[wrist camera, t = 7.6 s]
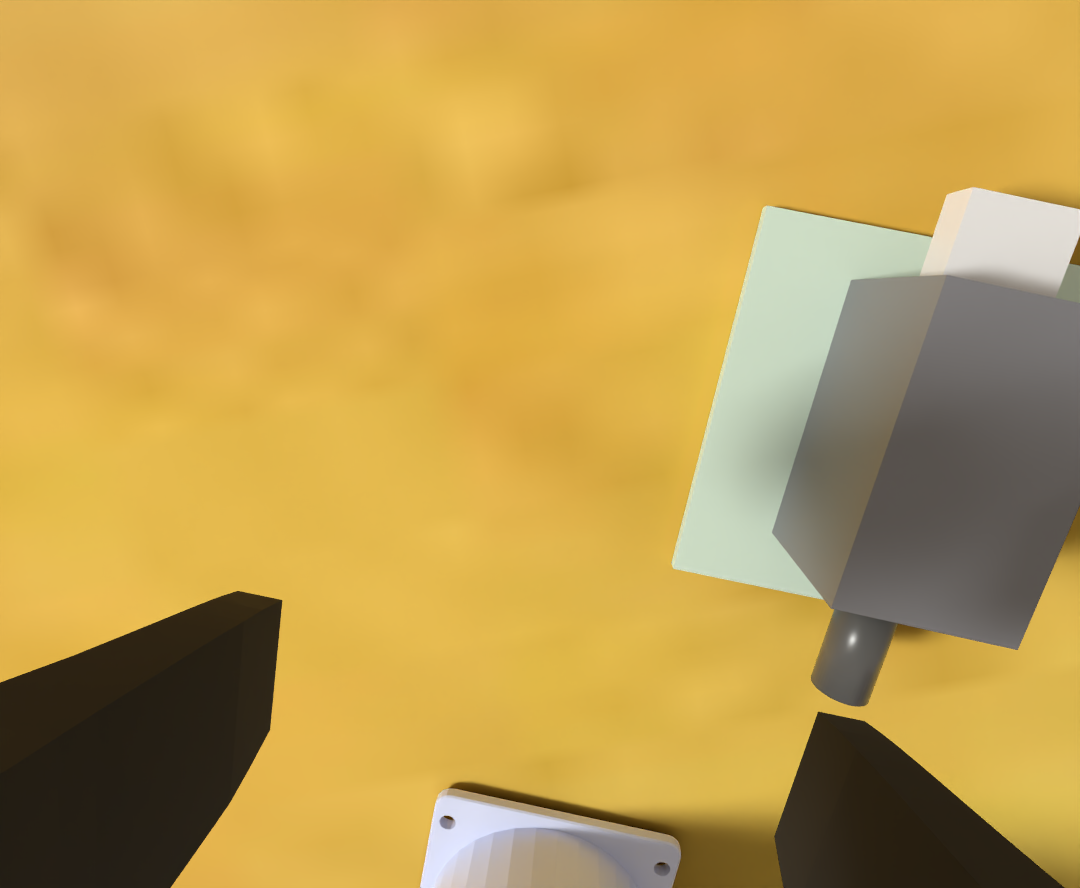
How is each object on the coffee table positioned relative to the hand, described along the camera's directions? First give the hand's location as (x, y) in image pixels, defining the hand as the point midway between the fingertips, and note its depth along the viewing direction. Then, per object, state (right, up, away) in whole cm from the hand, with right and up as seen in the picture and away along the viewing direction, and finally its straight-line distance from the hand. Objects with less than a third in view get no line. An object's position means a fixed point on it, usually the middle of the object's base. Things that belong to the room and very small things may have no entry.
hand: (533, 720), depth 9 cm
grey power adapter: (+9, +4, +9) cm, 13 cm away
